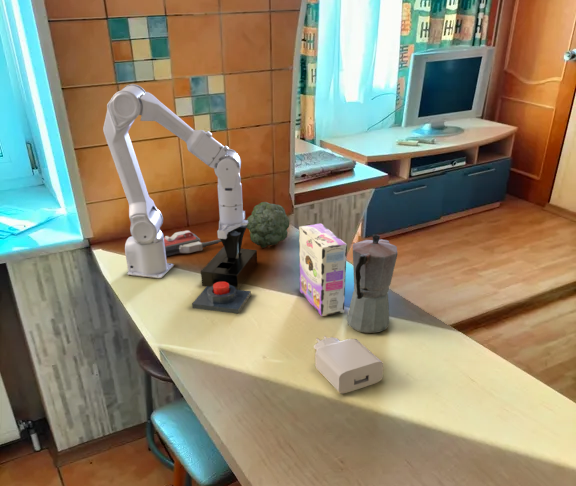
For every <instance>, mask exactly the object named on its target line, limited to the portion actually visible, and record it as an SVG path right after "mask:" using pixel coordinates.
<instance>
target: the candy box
mask: <svg viewBox="0 0 576 486" xmlns="http://www.w3.org/2000/svg"><path fill="white" fill-rule="evenodd" d="M298 251H299V252H298V255H299V256H298V257H299V260H298V261H299V262H298V263H299V264H298V265H299V292H300V293H301V295H302V296H303V297H304V298H305V299H306V300H307V302H309V304H310V305H311V306H312V307H313V308H314V309H315V311H316V312H317V313H318V314H319V315H320V317H325V316H326V317H327V316H331V315H336V314H341V313H345V302H346V301H345V300H346V299H345V298H346V297H345V296H346V277H347V275H346V274H347V273H346V272H347V256H348V255H347V252H348V244H347V243H346V242H345V241H343V240H342V239H341V238H340V237H339V236H337V235H336V234H335V233H334V232H333V231H331V230H330V229H329V228H328V227H326V226H325V225H324V224H323V223H314V224H306V225H301V226H299V227H298Z"/></svg>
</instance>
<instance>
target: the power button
mask: <svg viewBox="0 0 576 486" xmlns="http://www.w3.org/2000/svg"><path fill="white" fill-rule="evenodd" d="M213 290H214V294H218V295H223V294H227V293H229V284H228V283H227V282H216V283H215V284H214V285H213Z"/></svg>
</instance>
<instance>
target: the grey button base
mask: <svg viewBox="0 0 576 486" xmlns="http://www.w3.org/2000/svg"><path fill="white" fill-rule="evenodd" d="M251 297H252V291H251V290H243V289H238V290H236V288H235V287H234V286H232V285H229V293H227V294H223V295H218V294H214V290H213V286H211V287H209V286H207V287H206V286H205V288H204V289H203V290H202V291H201V293H200V294H199V295H198V296H197V297H196V299H195V300H194V301H193V302H192V305H191V307H192V309H197V310H204V311H205V310H206V311H213V312H220V313H221V312H222V313H229V314H240V313H241V311H242V309H243V308H244V307H245V305H246V304H247V303H248V301H249V300H250V298H251Z"/></svg>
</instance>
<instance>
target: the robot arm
mask: <svg viewBox="0 0 576 486" xmlns="http://www.w3.org/2000/svg"><path fill="white" fill-rule="evenodd" d="M139 116H140V120H139V121H140V122H156V123H158V124H159V125H160V126H162V127H163V128H164V129H166V130H168V131H169V132H170V133H172V134H173V135H175V136H176V137H177V138H179V139H181V140H182V141H184V142H185V144H186V148H187V151H188V152H189V153H190V154H192V155H193V156H194V157H196V158H197V159H198V160H199V161H201V162H203V163H204V164H205V165H206V166H207V167H209V168H211V169H213V170H214V174H215V176H216V177H217V199H218V213H219V219H218V220H219V221H218V230H216V235H217V239H218V240H219V239H220V240H221V241H222V242H221V243H222V245H223V247H224V248H225V251H226V254H227V257H228V258H236V256H237V246H238V247H239V253H240V251H241V249H242V244H243V239H244V236H245V232H246V230H247V224H248V220H247V219H246V210H244V209H243V207H244V206H243V187H242V186H243V184H242V183H241V181H242V177H241V167H242V159H241V157H240V155H239V154H238V153H237V151H236V150H234V149H231V148H230V147H229V146H227V145H225V146H224V145H223V144H222V143H220V142H219V141H218V140H216V139H215V138H214V137H213V133H212V132H211V131H209V130H207V131H205V130H203V129H193V128H192V127H191V126H190V125H189V124H187V123H186V122H185V121H184V120H183V119H182V118H181V117H179V116H178V115H177V114H176V113H175V112H173V111H172V110H171V109H170V108H169V107H167V106H166V105H165V104H164V103H163V102H162V101H160V100H159V99H158V98H157V97H156V96H155V95H154V94H152V93H151V92H149V91H146V90H145V89H144V88H143V87H142V86H141V85H138V84H136V83H135V84H134V83H131V84H127V85H125V86H124V87H123V88H122V89H121V90H119V91H116V92H115V93H114V94H113V96H112V97H111V98H110V100H109V101H108V103H107V104H106V113H105V117H104V118H105V119H104V123H103V127H102V128H103V129H102V131H103V134H104V138H105V141H106V144H107V146H108V149H109V151H110V154H111V157H112V158H111V159H112V160H113V163H114V166H115V169H116V172H117V175H118V177H119V180H120V184H121V186H122V188H123V192H124V195H125V197H126V200H127V202H128V217H129V221H130V227H129V230H130V235H131V236H129V237H128V238H127V239H126V240H125V244H124V255H125V259H126V265H127V267H126V268H127V272H126V275H127V276H134V277H135V276H136V277H143V278H153V279H162V278H164V276H165V275H166V274H167V273H168V272H169V271H170V270H171V269H172V268H173V267H174V266H175V264H174V263H169V262H168V261H167V256H166V252H165V244H164V238H165V236H164V233H163V232H162V229H161V227H162V225H163V223H164V217H163V214H162V212H161V210H159V209H158V208H157V206H156V204H155V202H154V200H153V199H152V198H151V197H150V194H149V192H148V188H147V185H146V182H145V180H144V177H143V174H142V171H141V168H140V165H139V161H138V157H137V156H136V152H135V150H134V146H133V143H132V140H131V138H130V135H129V134H130V133H129V131H130V129H131V128H132V125H133V124H134V122H135V120H136V119H137V118H138V117H139ZM233 230H235V231H237V232H235V231H233ZM239 253H238V254H239Z"/></svg>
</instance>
